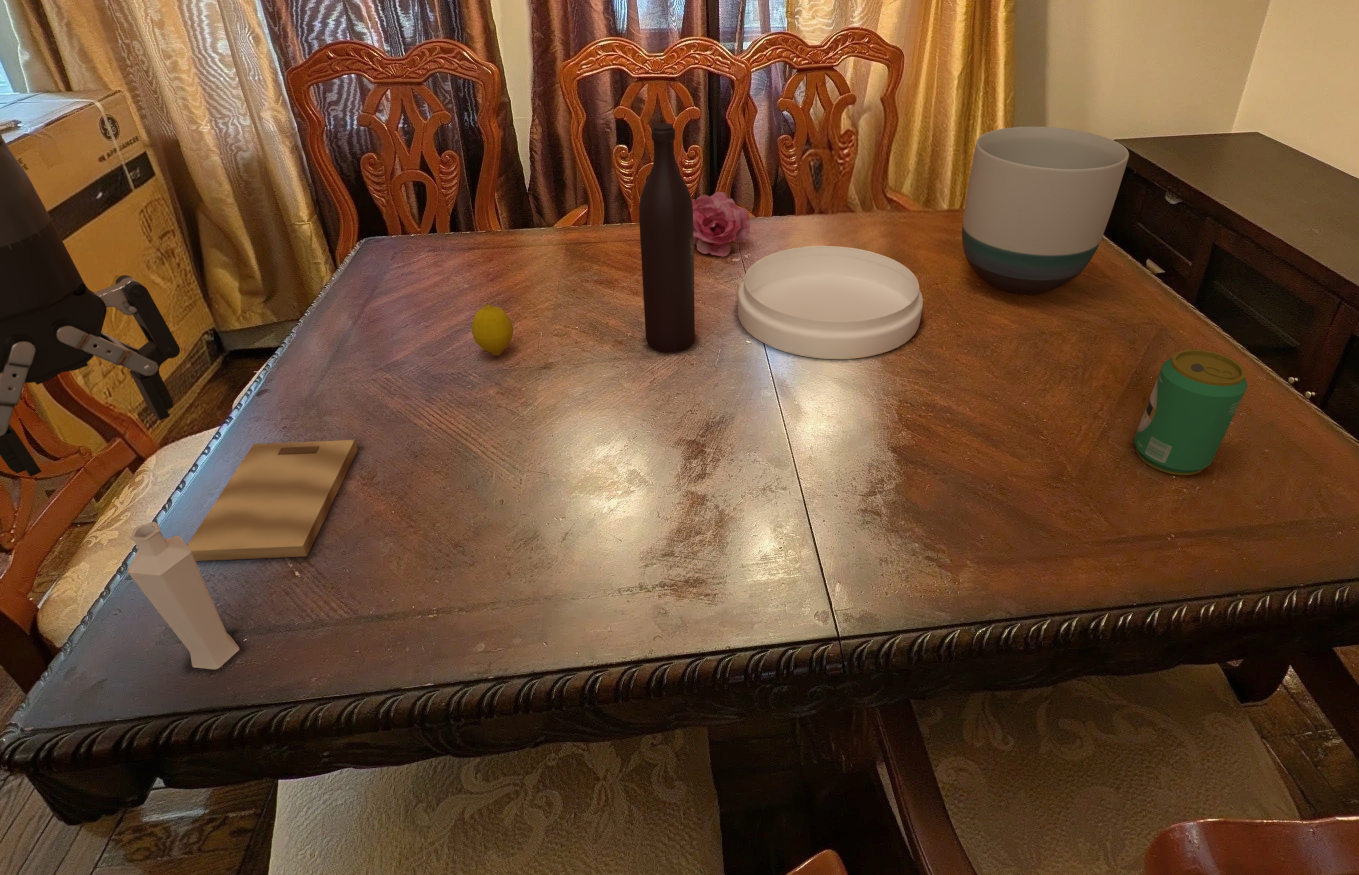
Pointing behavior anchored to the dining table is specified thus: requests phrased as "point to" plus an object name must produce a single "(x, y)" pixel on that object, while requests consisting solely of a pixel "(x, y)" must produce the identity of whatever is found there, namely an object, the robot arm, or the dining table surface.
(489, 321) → the fruit
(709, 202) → the flower
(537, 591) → the dining table surface
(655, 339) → the wine bottle
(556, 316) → the dining table surface
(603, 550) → the dining table surface
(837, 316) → the plate
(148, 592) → the perfume bottle
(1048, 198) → the planter
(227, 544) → the serving board
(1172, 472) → the beverage can
